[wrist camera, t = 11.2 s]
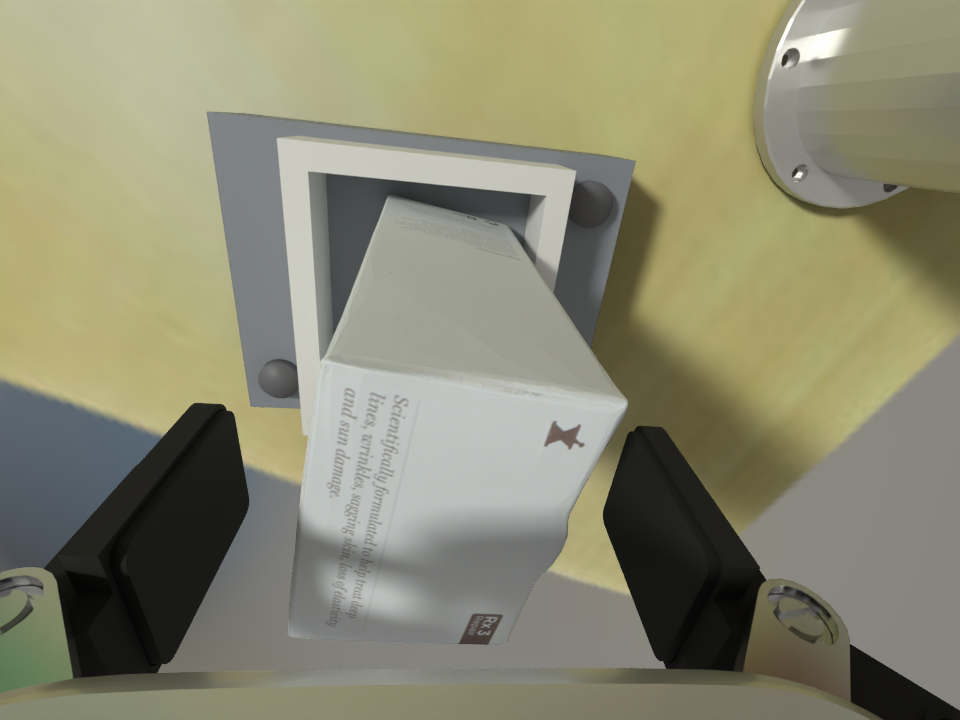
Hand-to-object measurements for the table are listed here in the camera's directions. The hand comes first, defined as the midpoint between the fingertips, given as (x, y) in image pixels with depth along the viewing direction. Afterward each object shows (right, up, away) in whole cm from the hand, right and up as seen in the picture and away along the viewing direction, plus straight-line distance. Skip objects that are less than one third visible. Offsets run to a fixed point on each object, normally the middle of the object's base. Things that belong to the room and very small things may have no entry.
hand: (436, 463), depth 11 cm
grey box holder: (-2, +8, +15) cm, 17 cm away
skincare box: (-1, +6, +12) cm, 13 cm away
